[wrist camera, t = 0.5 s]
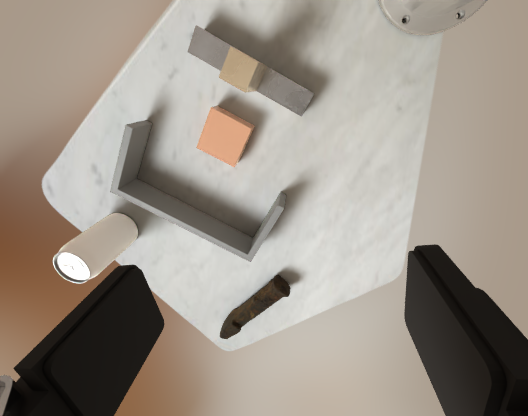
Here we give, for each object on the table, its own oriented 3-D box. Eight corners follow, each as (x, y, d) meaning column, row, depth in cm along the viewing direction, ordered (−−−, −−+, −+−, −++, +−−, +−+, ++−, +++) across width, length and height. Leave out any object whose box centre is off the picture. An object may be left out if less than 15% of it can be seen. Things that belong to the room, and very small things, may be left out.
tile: (217, 105, 37) (211, 107, 34) (255, 125, 37) (251, 128, 35) (203, 143, 39) (196, 147, 37) (238, 161, 40) (234, 167, 37)
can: (99, 218, 48) (40, 257, 37) (124, 206, 46) (70, 243, 35) (121, 246, 50) (71, 290, 39) (146, 235, 48) (101, 279, 38)
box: (146, 120, 39) (125, 124, 34) (286, 194, 41) (284, 208, 36) (129, 180, 44) (110, 191, 39) (255, 244, 46) (250, 262, 41)
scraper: (204, 30, 33) (167, 9, 24) (313, 92, 34) (316, 96, 25) (196, 54, 34) (159, 43, 25) (301, 114, 36) (301, 124, 27)
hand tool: (276, 270, 48) (274, 287, 44) (291, 283, 49) (290, 301, 45) (214, 315, 55) (207, 333, 51) (228, 326, 56) (222, 345, 52)
